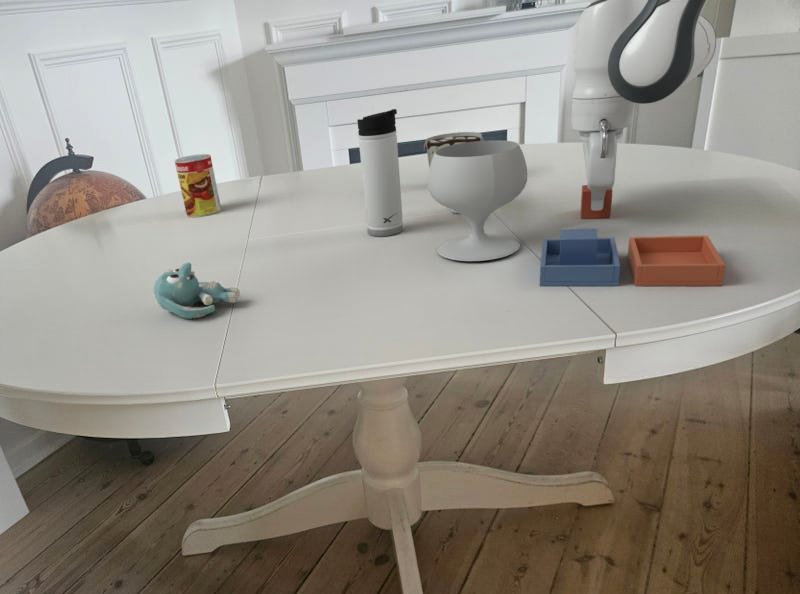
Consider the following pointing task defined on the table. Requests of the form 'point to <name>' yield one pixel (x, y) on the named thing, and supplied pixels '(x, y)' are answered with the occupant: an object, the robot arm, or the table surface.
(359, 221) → the table surface
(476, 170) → the chalice
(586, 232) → the slate block
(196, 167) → the canned food
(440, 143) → the food container
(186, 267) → the stuffed animal
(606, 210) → the rust block
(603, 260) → the slate tray
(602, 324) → the table surface
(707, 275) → the rust tray
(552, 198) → the table surface
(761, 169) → the table surface
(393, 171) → the travel mug
